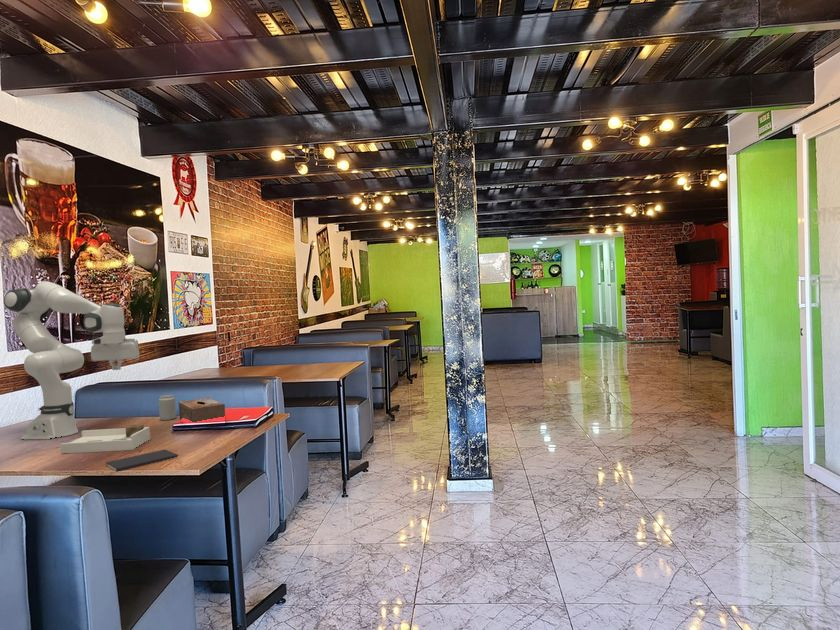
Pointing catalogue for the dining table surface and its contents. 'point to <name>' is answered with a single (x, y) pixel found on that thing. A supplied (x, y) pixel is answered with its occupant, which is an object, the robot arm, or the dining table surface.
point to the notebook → (140, 460)
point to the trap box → (106, 441)
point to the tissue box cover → (201, 409)
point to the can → (167, 407)
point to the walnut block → (133, 429)
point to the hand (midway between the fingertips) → (116, 369)
